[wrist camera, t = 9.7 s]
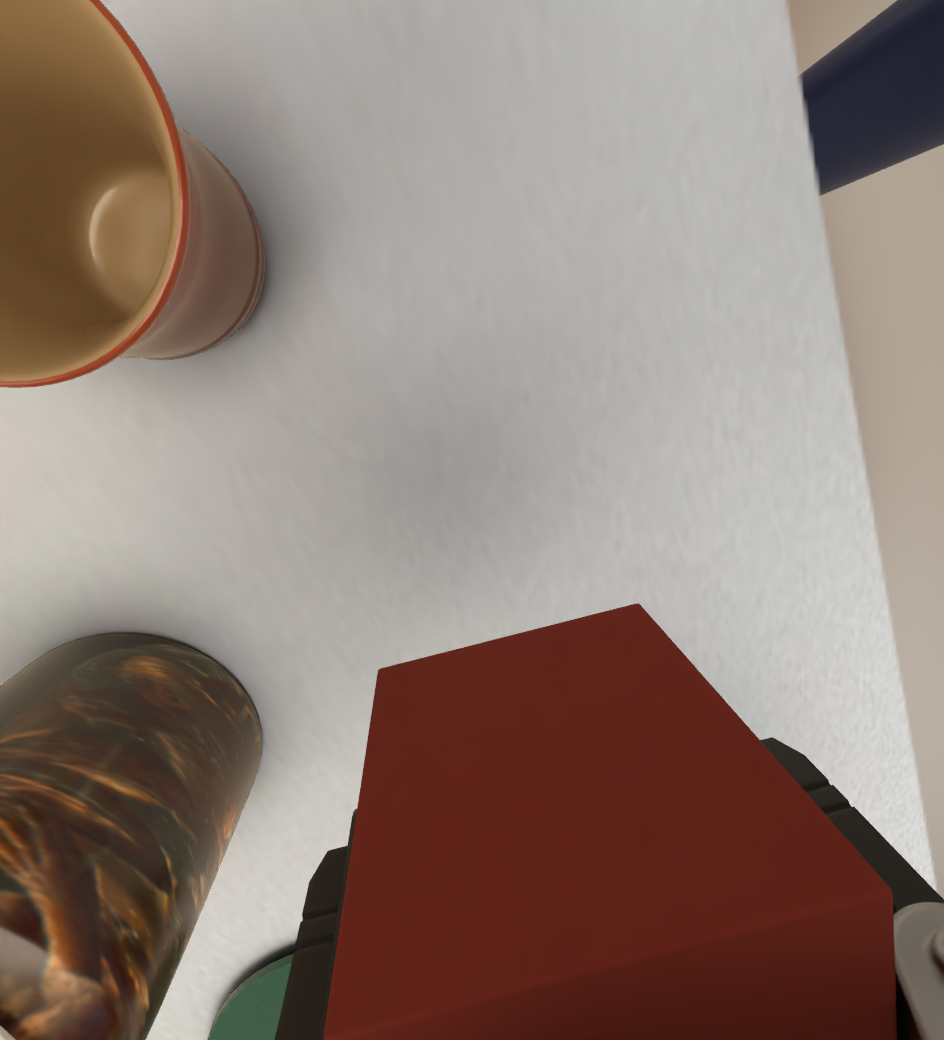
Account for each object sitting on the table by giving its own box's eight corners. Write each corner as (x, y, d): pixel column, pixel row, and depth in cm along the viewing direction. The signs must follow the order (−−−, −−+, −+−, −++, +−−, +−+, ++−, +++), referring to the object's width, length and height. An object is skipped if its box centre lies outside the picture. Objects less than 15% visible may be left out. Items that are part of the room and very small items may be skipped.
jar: (56, 584, 25) (-467, 901, 10) (303, 695, 27) (163, 1080, 13) (-36, 787, 27) (-568, 1281, 12) (200, 873, 29) (-19, 1372, 15)
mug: (297, 144, 21) (181, -50, 11) (291, 387, 23) (190, 407, 13) (-59, 91, 20) (-546, -180, 10) (-28, 353, 22) (-399, 348, 12)
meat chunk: (638, 601, 11) (896, 890, 5) (674, 813, 12) (905, 1233, 6) (377, 668, 10) (320, 1041, 5) (443, 873, 12) (460, 1354, 6)
